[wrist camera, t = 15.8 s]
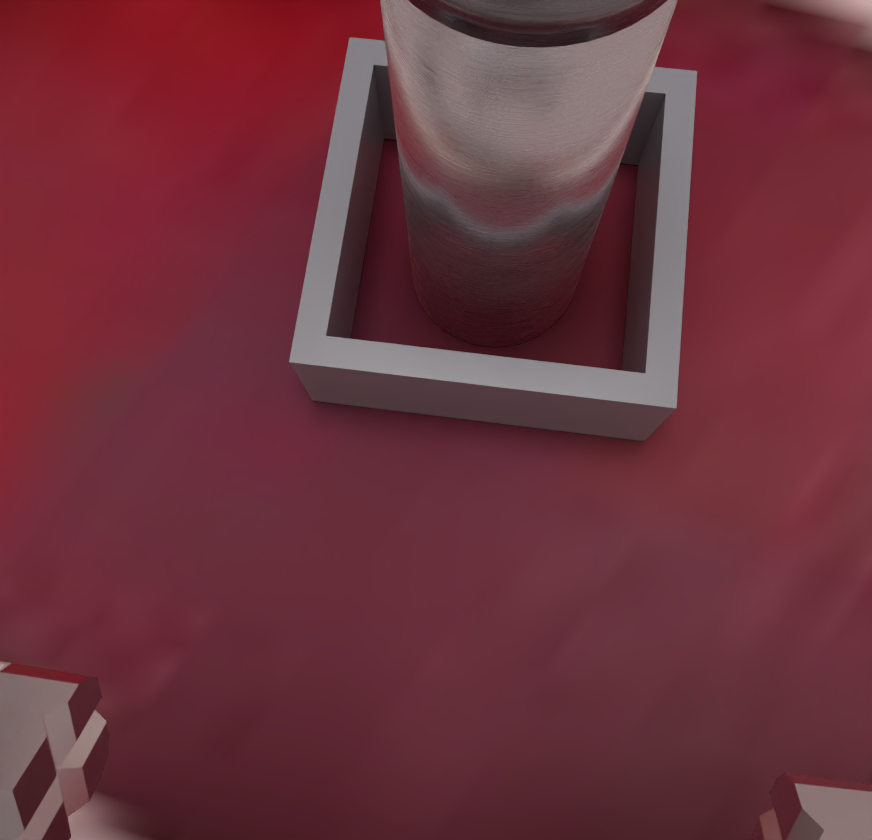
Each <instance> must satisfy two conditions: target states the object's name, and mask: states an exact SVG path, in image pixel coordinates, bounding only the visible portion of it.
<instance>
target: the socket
mask: <svg viewBox="0 0 872 840" xmlns="http://www.w3.org/2000/svg"><path fill="white" fill-rule="evenodd" d="M696 81H697V71H690V70H680V69H670V68H659V67H654V69H653V71H652V74H651V77H650V80H649V83H648V86H647V88H646V91H645V94H644V97H643V100H642V103H641V106H640V108H639V111H638V114H637V117H636V120H635V123H634V125H633V128H632V131H631V134H630V137H629V140H628V142H627V145H626V148H625V151H624V154H623V157H622V159H621V162H620V163H622V164H632V165H638V170H637V183H636V195H635V208H634V220H633V233H632V246H631V258H630V271H629V283H628V296H627V308H626V321H625V334H624V346H623V359H622V371H621V370H612V369H604V368H595V367H587V366H578V365H570V364H561V363H553V362H544V361H536V360H527V359H519V358H510V357H502V356H493V355H485V354H476V353H468V352H459V351H451V350H442V349H434V348H425V347H417V346H408V345H400V344H391V343H383V342H374V341H366V340H357V339H351V334H352V328H353V322H354V316H355V310H356V304H357V298H358V292H359V286H360V280H361V274H362V268H363V262H364V256H365V250H366V244H367V238H368V233H369V227H370V221H371V215H372V209H373V203H374V197H375V191H376V185H377V179H378V173H379V167H380V161H381V155H382V149H383V143H384V139H391V140H397V139H396V131H395V122H394V113H393V105H392V96H391V88H390V79H389V70H388V62H387V53H386V44H385V41H381V40H371V39H361V38H349V43H348V49H347V54H346V59H345V65H344V70H343V76H342V81H341V86H340V92H339V97H338V102H337V108H336V113H335V118H334V124H333V129H332V135H331V140H330V145H329V151H328V156H327V161H326V167H325V172H324V178H323V183H322V188H321V194H320V199H319V204H318V210H317V215H316V220H315V226H314V231H313V237H312V242H311V247H310V253H309V258H308V263H307V269H306V274H305V279H304V285H303V290H302V296H301V301H300V306H299V312H298V317H297V322H296V328H295V333H294V339H293V344H292V349H291V355H290V360H289V363H290V364H291V366H292V368H293V369H294V371H295V373H296V374H297V376H298V378H299V379H300V381H301V382H302V384H303V386H304V387H305V389H306V391H307V392H308V394H309V396H310V397H311V399H312V401H319V402H327V403H335V404H343V405H351V406H360V407H368V408H376V409H384V410H392V411H401V412H409V413H417V414H425V415H433V416H442V417H450V418H458V419H466V420H474V421H482V422H491V423H499V424H507V425H515V426H523V427H532V428H540V429H548V430H556V431H564V432H573V433H581V434H589V435H597V436H605V437H614V438H622V439H630V440H638V441H645V440H646V439H647V438H648V437H649V436H650V435H651V434H652V433H653V432H654V431H655V430H656V429H657V428H658V427H659V426H660V425H661V424H662V423H663V422H664V421H665V420H666V419H667V418H668V417H669V416H670V414H671V413H672V412H673V411H674V410H675V409H676V407H677V391H678V374H679V358H680V342H681V325H682V309H683V293H684V276H685V260H686V244H687V228H688V211H689V195H690V179H691V162H692V146H693V130H694V113H695V97H696Z"/></svg>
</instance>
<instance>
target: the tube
mask: <svg viewBox="0 0 872 840" xmlns="http://www.w3.org/2000/svg"><path fill="white" fill-rule="evenodd" d="M380 1H381V10H382V19H383V27H384V36H385V44H386V53H387V62H388V70H389V79H390V88H391V96H392V105H393V113H394V122H395V131H396V139H397V148H398V156H399V165H400V174H401V182H402V191H403V199H404V208H405V217H406V225H407V234H408V242H409V251H410V260H411V268H412V277H413V283H414V288H415V291H416V294H417V297H418V299H419V301H420V303H421V305H422V307H423V309H424V310H425V311H426V313H427V314H428V316H429V317H430V318H431V319H432V320H433V321H434V322H435V323H436V324H437V325H438V326H439V327H440V328H442V329H443V330H444V331H446V332H447V333H449V334H450V335H452V336H454V337H456V338H458V339H460V340H462V341H465V342H468V343H471V344H475V345H480V346H487V347H504V346H511V345H516V344H520V343H523V342H526V341H529V340H531V339H533V338H535V337H538V336H539V335H541V334H542V333H544V332H545V331H547V330H548V329H549V328H551V327H552V326H553V325H554V324H555V323H556V322H557V321H558V320H559V319H560V318H561V317H562V316H563V314H564V313H565V311H566V310H567V308H568V307H569V305H570V302H571V300H572V298H573V296H574V293H575V290H576V287H577V284H578V282H579V279H580V276H581V273H582V270H583V267H584V265H585V262H586V259H587V256H588V253H589V250H590V247H591V245H592V242H593V239H594V236H595V233H596V230H597V228H598V225H599V222H600V219H601V216H602V213H603V211H604V208H605V205H606V202H607V199H608V196H609V194H610V191H611V188H612V185H613V182H614V179H615V176H616V174H617V171H618V168H619V165H620V162H621V159H622V157H623V154H624V151H625V148H626V145H627V142H628V140H629V137H630V134H631V131H632V128H633V125H634V123H635V120H636V117H637V114H638V111H639V108H640V106H641V103H642V100H643V97H644V94H645V91H646V88H647V86H648V83H649V80H650V77H651V74H652V71H653V69H654V66H655V63H656V60H657V57H658V54H659V52H660V49H661V46H662V43H663V40H664V37H665V35H666V32H667V29H668V26H669V23H670V20H671V18H672V15H673V12H674V9H675V6H676V3H677V0H380Z"/></svg>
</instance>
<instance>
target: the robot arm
mask: <svg viewBox="0 0 872 840" xmlns="http://www.w3.org/2000/svg"><path fill="white" fill-rule="evenodd" d="M101 698H102V695H101V690H100V686H99V682H98V678H96V677H90V676H84V675H78V674H73V673H67V672H61V671H55V670H49V669H43V668H37V667H32V666H26V665H20V664H14V663H7V662H1V661H0V840H69V839H70V837H71V833H70V828H69V822H68V816H69V815H71V814H72V813H74V812H75V811H76V810H78V809H79V808H81V807H82V806H83V805H85V804H86V803H88V802H89V801H90V799H91V797H92V795H93V793H94V791H95V789H96V787H97V785H98V783H99V781H100V779H101V776H102V772H103V769H104V766H105V762H106V759H107V755H108V745H109V732H108V726H107V722H106V721H105V720H104V719H103V718H102V717H101V716H100V715H99V714H98V713H97V712H96V711H95V708H96V706H97V705H98V703H99V701H100V699H101ZM770 795H771V799H772V802H773V806H774V808H773V809H772V810H770V811H768V812H766V813H764V814H762V815H761V816H759V818H758V820H757V823H756V825H755V828H754V831H753V833H752V839H751V840H872V786H871V785H869V784H866V783H858V782H850V781H842V780H835V779H827V778H819V777H811V776H803V775H795V774H787V773H784V774H782V775H781V776H779V777H778V778H776V780H775V782H774V785H773V787H772V789H771V791H770Z"/></svg>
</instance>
